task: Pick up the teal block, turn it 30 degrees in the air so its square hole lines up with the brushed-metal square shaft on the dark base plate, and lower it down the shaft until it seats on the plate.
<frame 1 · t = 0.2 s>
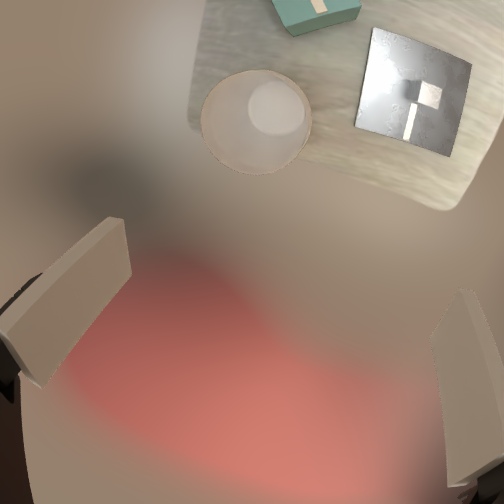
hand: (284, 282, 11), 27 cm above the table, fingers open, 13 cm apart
cup: (276, 108, 33), on the table
shaft fixture: (414, 91, 28), on the table
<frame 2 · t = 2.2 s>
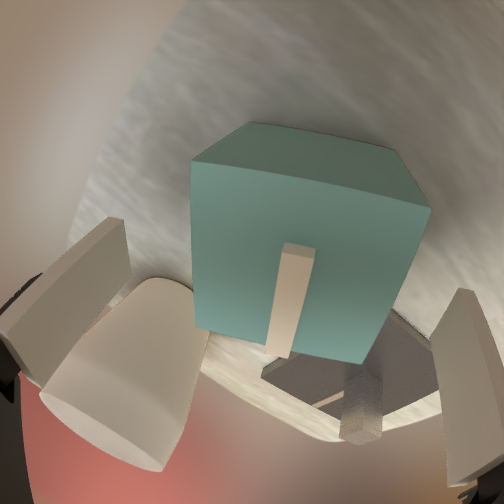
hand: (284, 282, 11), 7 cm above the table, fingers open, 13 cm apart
cup: (174, 308, 24), on the table
shaft fixture: (363, 372, 23), on the table
teal block: (310, 200, 16), on the table
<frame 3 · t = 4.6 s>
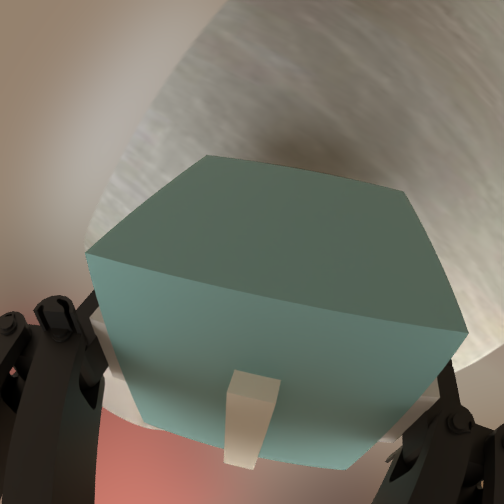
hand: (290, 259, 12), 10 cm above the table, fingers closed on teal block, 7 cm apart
cup: (182, 289, 28), on the table
teal block: (290, 256, 13), point 9 cm above the table, touching gripper
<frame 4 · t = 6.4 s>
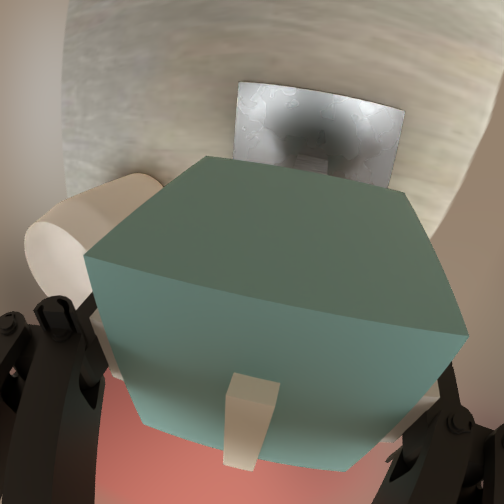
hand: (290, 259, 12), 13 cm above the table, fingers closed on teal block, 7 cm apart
cup: (144, 203, 29), on the table
shaft fixture: (311, 166, 23), on the table
teal block: (290, 257, 13), point 13 cm above the table, touching gripper
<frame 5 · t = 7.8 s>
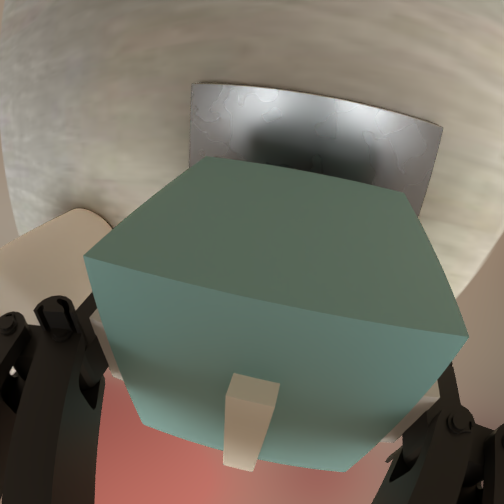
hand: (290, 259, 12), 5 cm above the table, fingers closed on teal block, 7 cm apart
cup: (94, 244, 22), on the table
shaft fixture: (302, 205, 16), on the table
teal block: (290, 257, 13), point 5 cm above the table, touching gripper
when the fingers open (2 cm above the table, at t = 8.7 s): teal block stays where it is, resting on shaft fixture.
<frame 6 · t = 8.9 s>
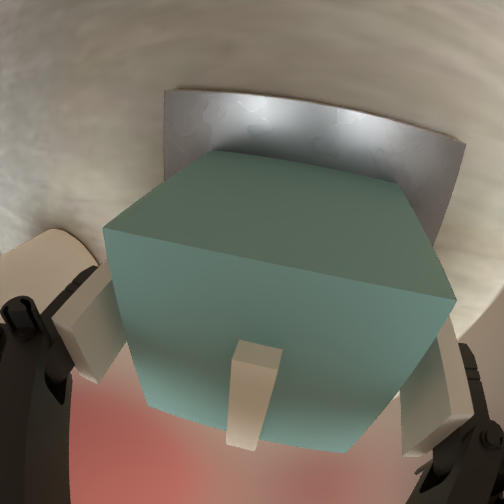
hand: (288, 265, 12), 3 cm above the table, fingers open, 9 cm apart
cup: (72, 266, 20), on the table
shaft fixture: (296, 233, 14), on the table
teal block: (291, 246, 13), point 1 cm above the table, touching shaft fixture
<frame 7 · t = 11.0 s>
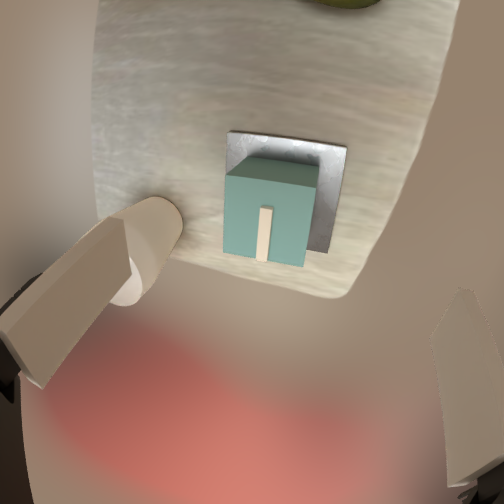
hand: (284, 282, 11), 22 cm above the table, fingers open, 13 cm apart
cup: (161, 219, 39), on the table
shaft fixture: (281, 191, 33), on the table
teal block: (279, 195, 32), point 1 cm above the table, touching shaft fixture
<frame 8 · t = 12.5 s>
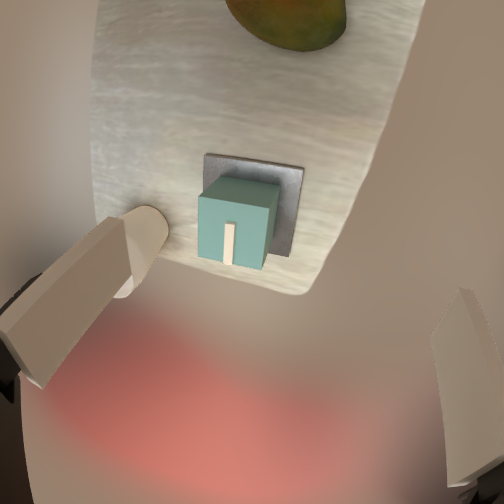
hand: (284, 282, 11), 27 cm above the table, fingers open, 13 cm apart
fruit: (296, 4, 25), on the table
cup: (150, 224, 45), on the table
shaft fixture: (249, 204, 40), on the table
teal block: (246, 208, 39), point 1 cm above the table, touching shaft fixture
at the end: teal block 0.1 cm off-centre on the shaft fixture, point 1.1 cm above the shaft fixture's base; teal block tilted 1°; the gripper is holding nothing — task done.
